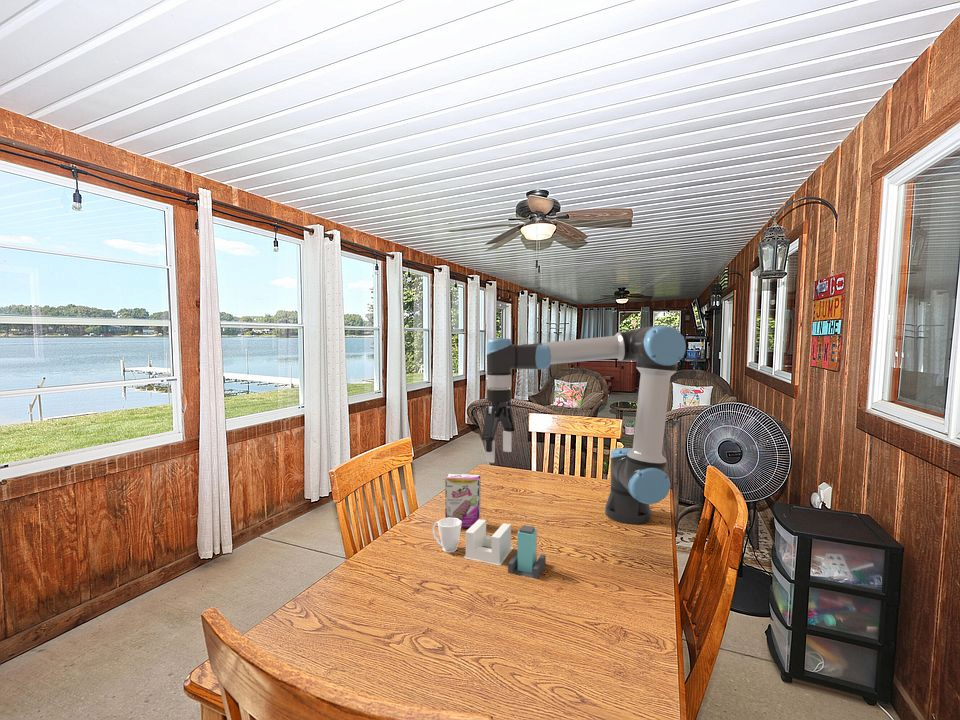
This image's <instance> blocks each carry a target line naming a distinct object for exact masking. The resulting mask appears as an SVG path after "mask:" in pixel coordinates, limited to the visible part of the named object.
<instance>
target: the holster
mask: <svg viewBox="0 0 960 720" xmlns="http://www.w3.org/2000/svg"><path fill="white" fill-rule="evenodd" d="M546 561H547V559H546V554H542V553H541V554H540V555H539V557H538V558H537V562H536V564H535V566H534V567H533V573H529V572H524V571H519V570H518V549H517V550H516V551H515V553H514V554H513V556H512V557H511V558H510V560H509V562H507V573H508V574H513V575H518V576H521V577H522V576H523V577H528V578H532V579H537V580H539V578H540V577H541V574H542V572H543V570H544V568H545V567H546V564H547V563H546Z"/></svg>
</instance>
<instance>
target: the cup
mask: <svg viewBox="0 0 960 720" xmlns="http://www.w3.org/2000/svg"><path fill="white" fill-rule="evenodd" d="M461 524H462V521H461V520H459V519H458V518H451V517H448V518H445V517H444V518H441V519H439V521H435V522H434V523H433V525H432V529H431V530H432V536H433V538H434V540H435V541H436V542H437V543H438V545H439V546H441V549H442V551H443V552H444V553H447V554H448V553H449V554H450V553H451V554H452V553H456V552H457V551H456V550H458V545H459V542H460V537H461V531H462V528H461ZM436 525H437V529H438V533H439V538H440V539H439V538H438V536H437V534H436V531H435V530H436ZM455 551H456V552H455Z"/></svg>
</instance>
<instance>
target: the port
mask: <svg viewBox="0 0 960 720" xmlns="http://www.w3.org/2000/svg"><path fill="white" fill-rule="evenodd" d="M513 549H514V547H513V546H512V524H510V523H502V524H501V525H500V527H498V529H496V531H495V532H494V533H493V534H492V535H489V534H487V520H486V519H481V518H480V519H478V520H477V521H476V522H475V523H474V524H473V525H472V526H471V527H470V528H467V530H466V531H465V555H464V556H463V557H462V559H467V560H470V561H476V562H480V563H481V562H482V563H485V564H491V565H494V566H495V565H496V566H499V567H501V565H502V564H503V563H504V561H505V560H506V559H507V557H508V556H509V554H511V552H512V550H513Z"/></svg>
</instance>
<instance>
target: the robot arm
mask: <svg viewBox="0 0 960 720" xmlns="http://www.w3.org/2000/svg"><path fill="white" fill-rule="evenodd" d="M686 344H687V343H686V340H685V338H684V336H683V335H682V334H681V332H680V331H679V330H677V329H676V328H674V327H672V326H669V325H663V324H662V325H654V326H644V327H639V328H636V329H633V330H628V331H620V332H616V334H614V335H610V336H600V337H590V338H589V337H588V338H579V339H569V340H560V341H559V340H558V341H548V342H540V343H523V344H512V339H510V338H489V339H488V341H487V343H486V378H485V380H486V387H487V390H486V400H487V401H488V402H490V403H491V405H490V406H488V405H487V406H486V408H485V409H486V412H485V413H486V414H485V419H484V423H483V429H482V435H481V441H484V442H485V445H484V446H485V450H484V451H485V454H484V455H485V462H486V463H491V464H492V463H493V464H494V463H495V462H496V461H495V460H496V441H495V440H494V439H495V436H496V432H497V429H498V425H499V422H500V423H501V424H502V425H501V426H502V428H503V431H502V452H505V453H506V452H507V453H511V452H512V448H513V447H512V446H513V443H512V442H513V441H512V440H513V439H512V437H513V435H512V434H513V433H512V432H515V430H516V429H515V421H514V418H513V416H514V415H513V412H512V402H511V401H512V390H511V388H512V370H538V371H539V370H548V369H549V368H550V367H551V365H558V364H559V365H560V364H568V363H579V362H580V363H581V362H588V361H589V362H590V361H601V360H611V359H617V360H618V361H620V362H622V361H635V362H636V366H635V368H636V369H637V371H638V372H639V374H640V375H639V376H640V378H639V387H638V394H637V395H638V397H637V405H636V413H635V422H634V423H635V424H634V431H633V441H632V442H633V443H632V447H617V448H613V449H612V450H611V453H610V490H609V491H610V492H609V495H608V497H607V500H606V504H605V506H604V514H605V515H606V517H608V518H609V519H611V520H613V521H616V522H620V523H623V524H629V525H630V524H632V525H635V524H636V525H637V524H639V525H640V524H646V523H649V522H650V521H651V520H652V516H653V515H652V509H651V505H655V504H658V503H660V502H661V501H663V500H665V498H666V497H667V496H668V494H669V492H670V489H671V481H670V478H669V476H668V474H667V473H666V469H667V459H666V458H665V456H664V455H663V446H664V437H665V429H666V420H667V412H668V411H667V410H668V402H669V401H668V400H669V392H670V382H671V378H672V377H671V376H673V375H674V374H676V373H677V371H678V364H679V362H680V361H681V360H682V359H683V358H684V355H685V353H686V349H687V348H686V347H687V346H686Z"/></svg>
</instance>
